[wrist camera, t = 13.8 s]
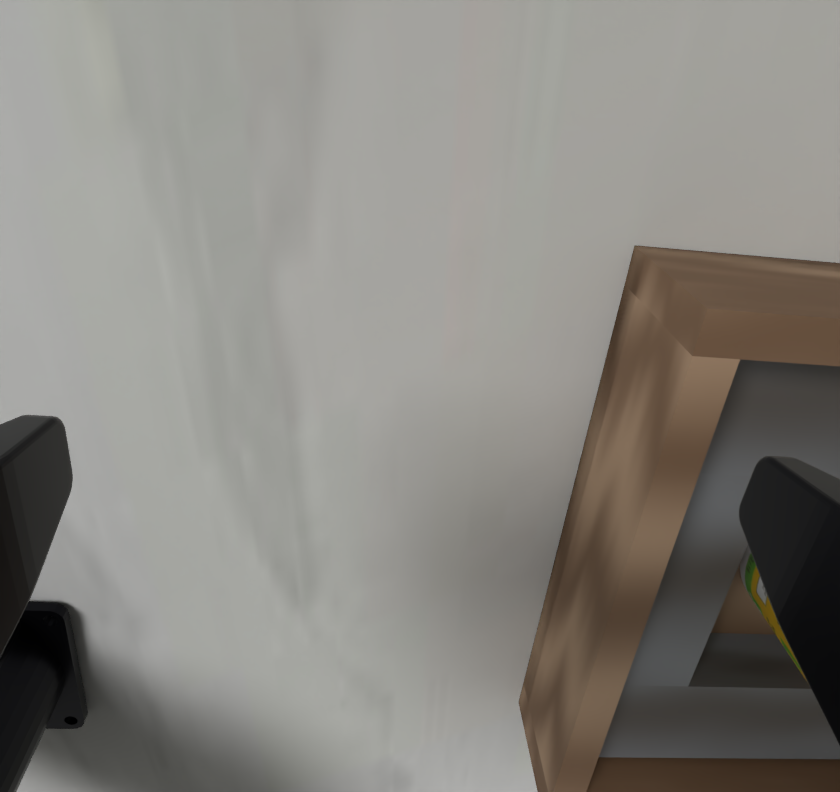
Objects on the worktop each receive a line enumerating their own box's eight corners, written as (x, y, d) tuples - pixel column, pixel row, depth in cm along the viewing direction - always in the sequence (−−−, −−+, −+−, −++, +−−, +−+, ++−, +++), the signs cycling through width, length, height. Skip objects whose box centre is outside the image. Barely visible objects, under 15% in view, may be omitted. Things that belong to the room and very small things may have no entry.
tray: (906, 708, 31) (992, 820, 27) (518, 702, 30) (544, 821, 25) (1178, 292, 22) (1378, 360, 18) (634, 245, 20) (707, 308, 16)
